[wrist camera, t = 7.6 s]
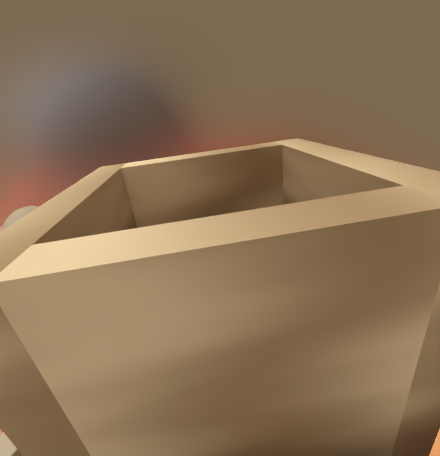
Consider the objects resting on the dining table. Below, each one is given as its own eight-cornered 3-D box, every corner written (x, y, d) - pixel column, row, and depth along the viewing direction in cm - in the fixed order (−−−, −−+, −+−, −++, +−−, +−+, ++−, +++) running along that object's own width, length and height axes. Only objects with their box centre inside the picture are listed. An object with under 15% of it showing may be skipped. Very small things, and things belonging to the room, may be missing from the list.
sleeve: (166, 633, 7) (-105, 299, 2) (174, 404, 13) (100, 166, 8) (381, 579, 8) (530, 193, 3) (297, 379, 14) (297, 138, 9)
